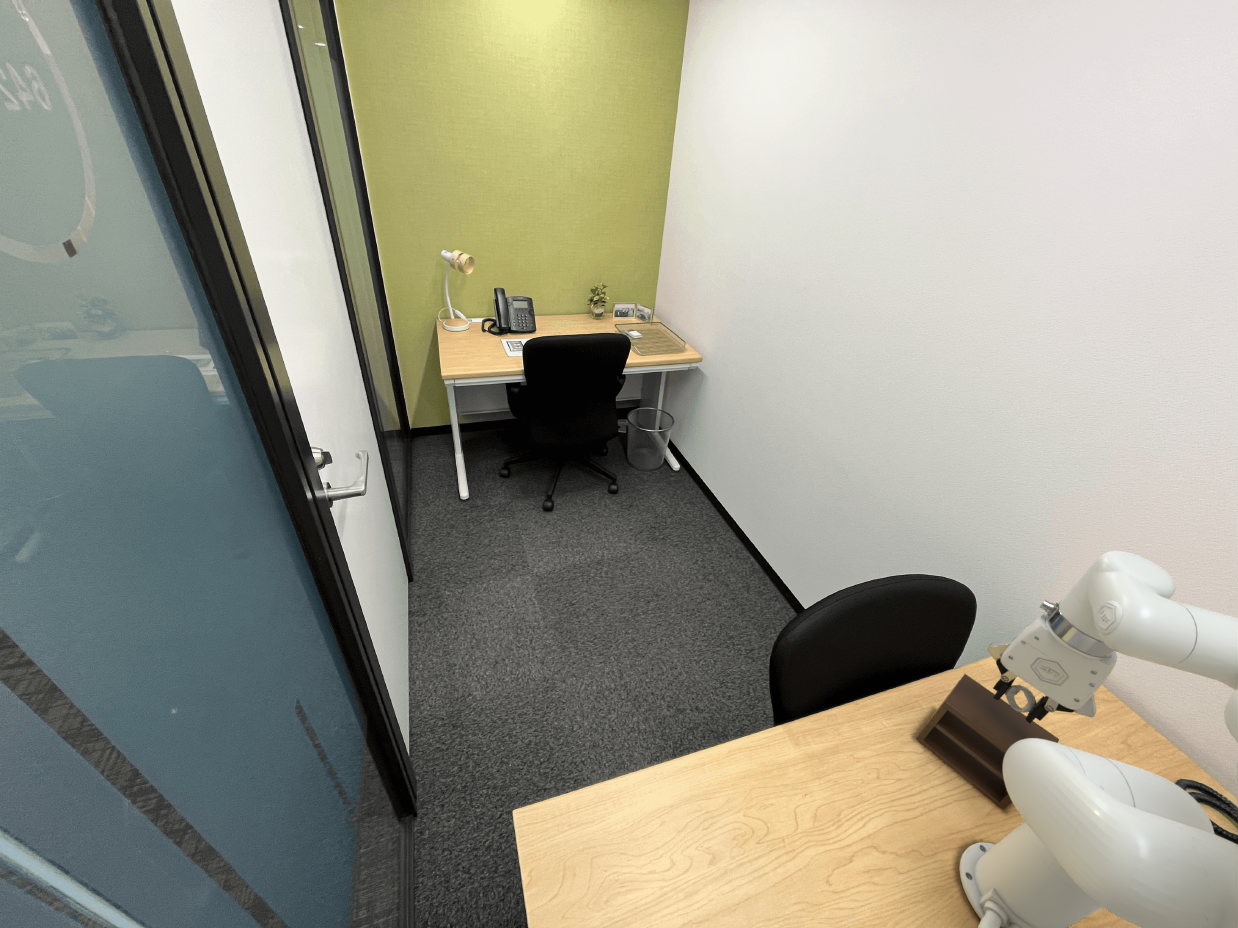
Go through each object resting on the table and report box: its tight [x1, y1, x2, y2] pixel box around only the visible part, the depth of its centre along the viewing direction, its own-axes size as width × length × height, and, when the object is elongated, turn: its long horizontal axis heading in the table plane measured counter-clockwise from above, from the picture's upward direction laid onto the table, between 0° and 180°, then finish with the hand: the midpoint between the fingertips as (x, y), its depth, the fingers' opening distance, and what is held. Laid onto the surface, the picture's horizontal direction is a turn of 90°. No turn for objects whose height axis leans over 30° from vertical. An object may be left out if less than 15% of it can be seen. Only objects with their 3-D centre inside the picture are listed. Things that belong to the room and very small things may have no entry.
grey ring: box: [1004, 684, 1038, 713], centre depth 77 cm, size 4×2×4 cm, turn 8°
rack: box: [915, 673, 1060, 811], centre depth 83 cm, size 9×14×12 cm, turn 39°
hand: (1014, 704), depth 78 cm, fingers closed on grey ring, 3 cm apart
